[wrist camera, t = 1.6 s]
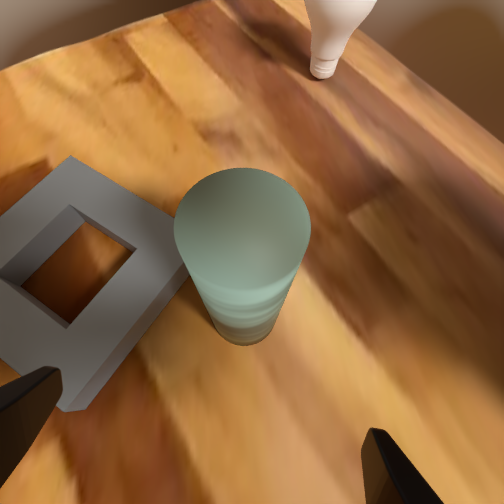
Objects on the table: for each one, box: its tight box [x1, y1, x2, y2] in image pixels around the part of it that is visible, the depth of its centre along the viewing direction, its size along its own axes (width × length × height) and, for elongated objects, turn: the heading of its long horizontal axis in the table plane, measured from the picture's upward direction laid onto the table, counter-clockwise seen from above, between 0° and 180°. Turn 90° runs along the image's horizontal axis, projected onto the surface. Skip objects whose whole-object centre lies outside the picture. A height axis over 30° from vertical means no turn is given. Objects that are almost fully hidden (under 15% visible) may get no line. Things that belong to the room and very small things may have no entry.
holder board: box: [0, 155, 190, 412], centre depth 22 cm, size 13×13×2 cm
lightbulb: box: [304, 0, 377, 79], centre depth 27 cm, size 6×6×11 cm
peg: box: [174, 168, 311, 346], centre depth 16 cm, size 4×4×13 cm
